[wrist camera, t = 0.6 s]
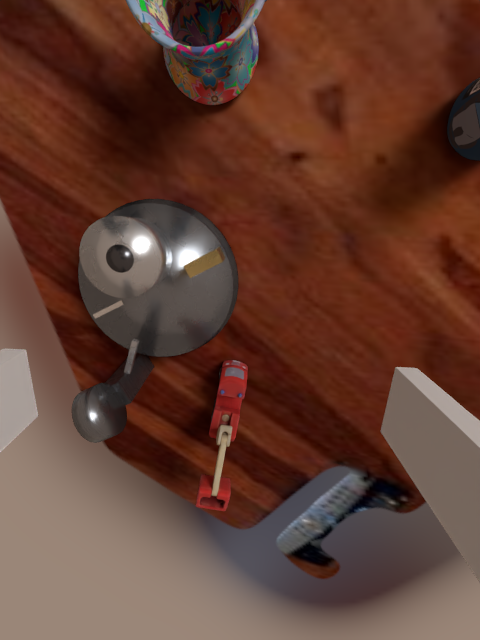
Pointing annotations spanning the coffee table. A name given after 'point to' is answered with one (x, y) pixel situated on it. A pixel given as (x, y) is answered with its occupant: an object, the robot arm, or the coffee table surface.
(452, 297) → the coffee table surface
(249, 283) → the coffee table surface
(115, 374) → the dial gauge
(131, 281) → the cover
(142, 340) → the turntable
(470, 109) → the soda can
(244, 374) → the toy fire truck
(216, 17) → the mug
